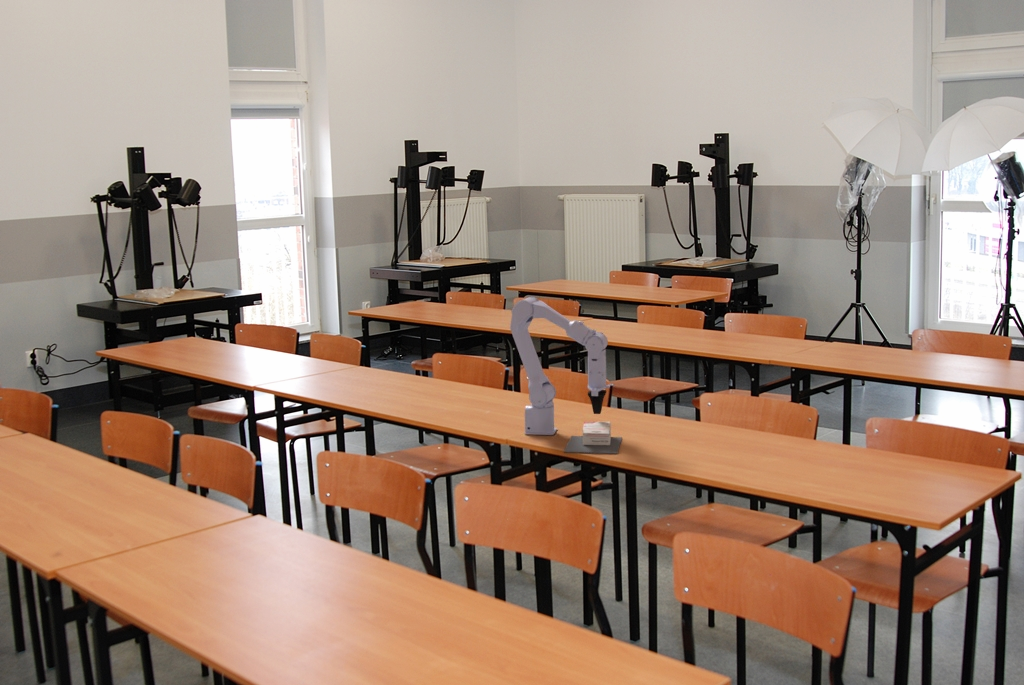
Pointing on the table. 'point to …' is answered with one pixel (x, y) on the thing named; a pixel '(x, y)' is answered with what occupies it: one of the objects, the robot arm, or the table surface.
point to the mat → (592, 446)
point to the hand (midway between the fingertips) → (597, 413)
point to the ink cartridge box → (596, 433)
